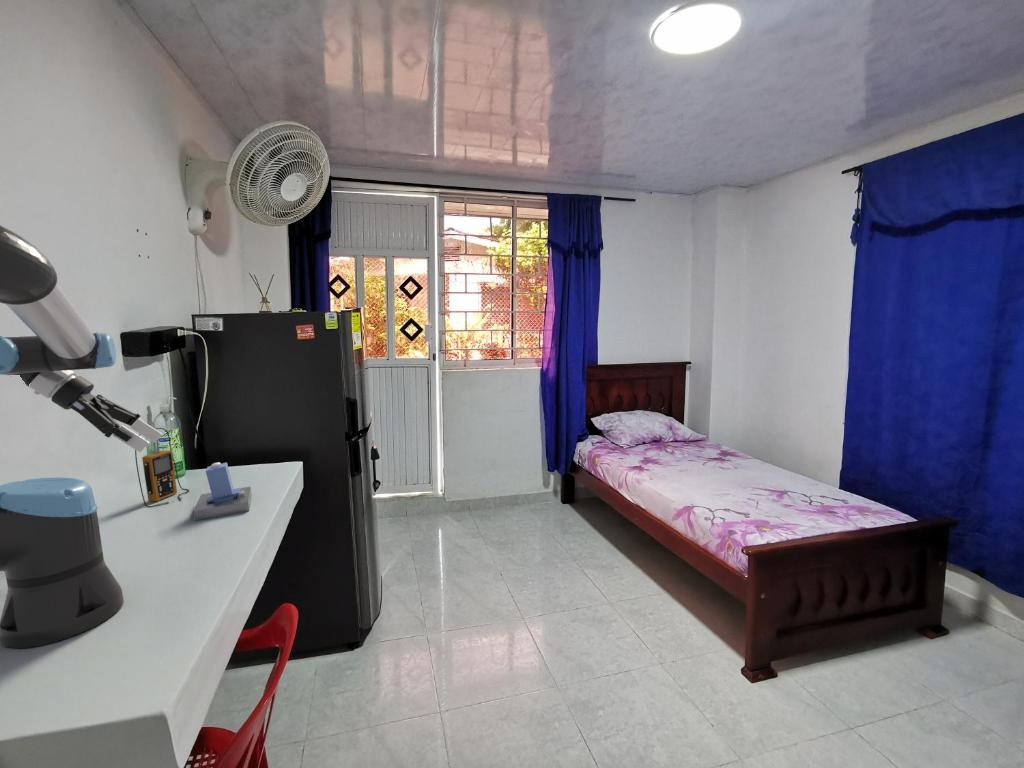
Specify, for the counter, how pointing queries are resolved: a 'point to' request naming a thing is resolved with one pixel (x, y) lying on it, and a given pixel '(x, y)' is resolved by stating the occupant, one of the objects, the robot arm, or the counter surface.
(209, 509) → the plate
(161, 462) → the multimeter
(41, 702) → the counter surface
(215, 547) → the counter surface
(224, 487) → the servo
